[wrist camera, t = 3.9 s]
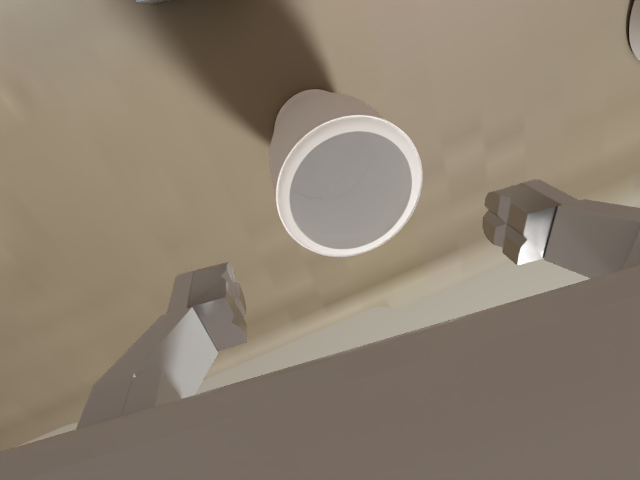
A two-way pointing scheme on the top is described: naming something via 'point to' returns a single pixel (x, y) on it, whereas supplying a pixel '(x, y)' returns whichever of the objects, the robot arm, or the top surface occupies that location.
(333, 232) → the jar
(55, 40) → the top surface
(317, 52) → the top surface
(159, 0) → the grey open box
